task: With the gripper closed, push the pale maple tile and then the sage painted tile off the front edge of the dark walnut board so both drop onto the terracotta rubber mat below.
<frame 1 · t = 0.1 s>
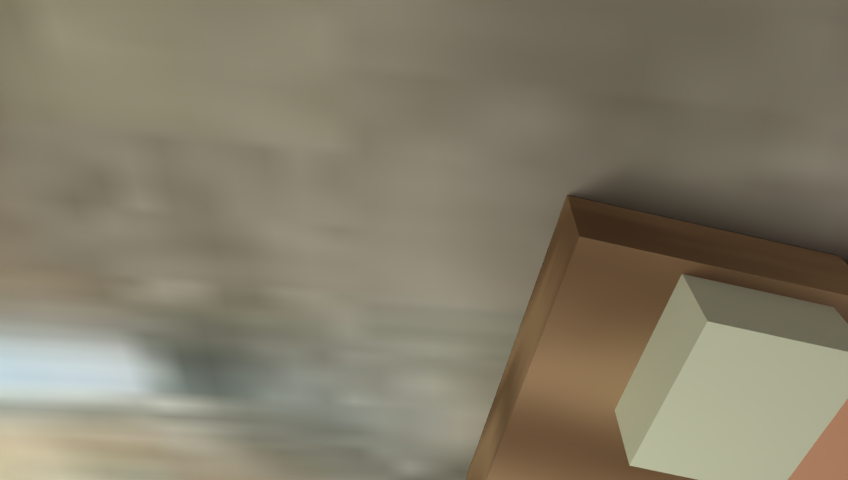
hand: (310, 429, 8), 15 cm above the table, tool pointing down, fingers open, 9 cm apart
walnut board: (614, 408, 26), on the table
sage tile: (716, 362, 21), point 3 cm above the table, touching walnut board
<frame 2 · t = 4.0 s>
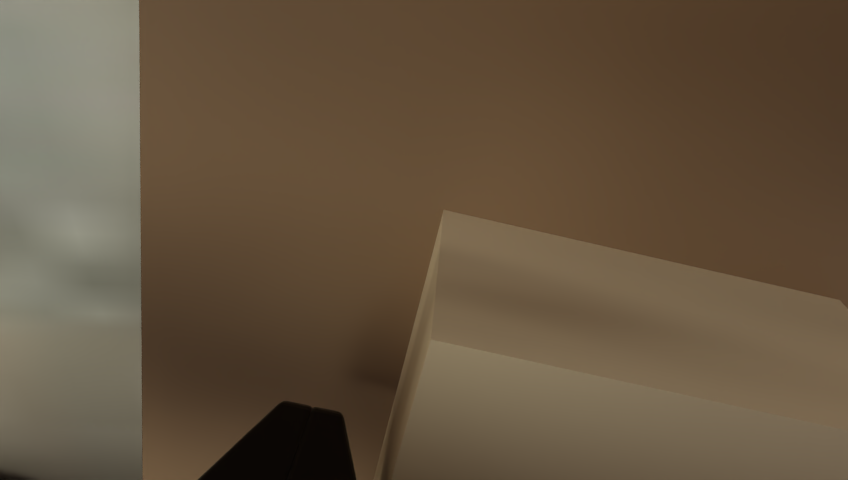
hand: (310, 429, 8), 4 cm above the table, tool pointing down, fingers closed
maple tile: (564, 429, 9), point 3 cm above the table, touching gripper, walnut board
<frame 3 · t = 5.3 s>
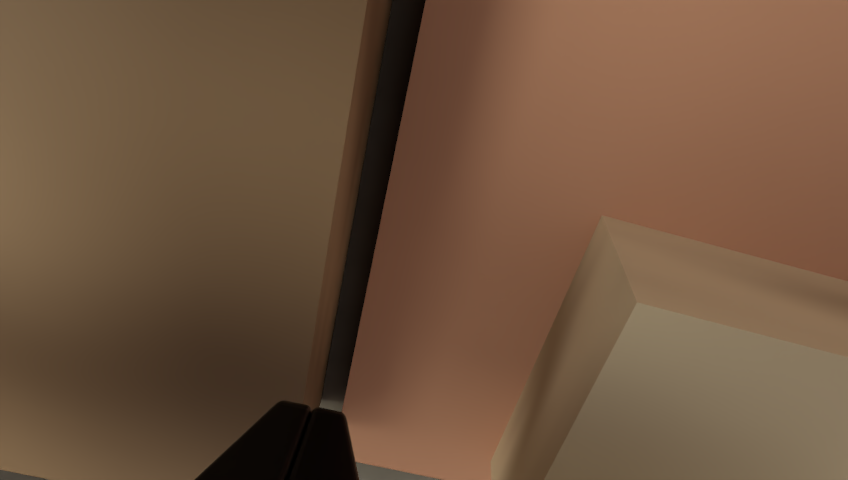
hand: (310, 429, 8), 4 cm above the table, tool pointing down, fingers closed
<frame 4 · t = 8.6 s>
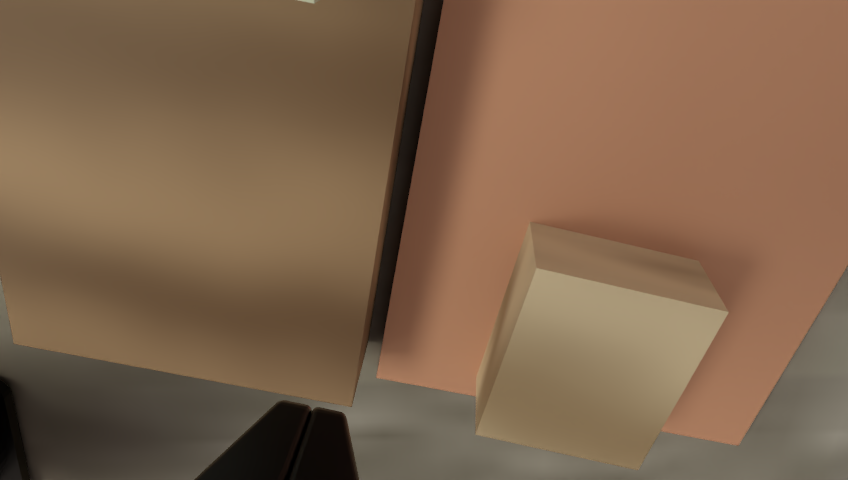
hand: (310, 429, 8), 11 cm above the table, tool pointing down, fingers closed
walnut board: (224, 43, 16), on the table
terracotta mat: (660, 128, 17), on the table
maple tile: (591, 378, 17), point 3 cm above the table, tilted 180°, touching terracotta mat
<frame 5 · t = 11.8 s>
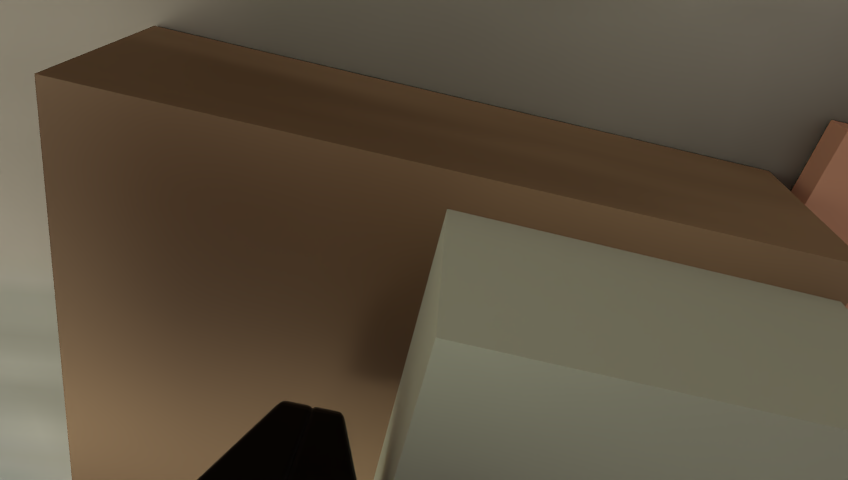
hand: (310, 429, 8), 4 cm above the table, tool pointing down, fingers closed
walnut board: (370, 477, 14), on the table
sage tile: (565, 428, 9), point 3 cm above the table, touching gripper, walnut board
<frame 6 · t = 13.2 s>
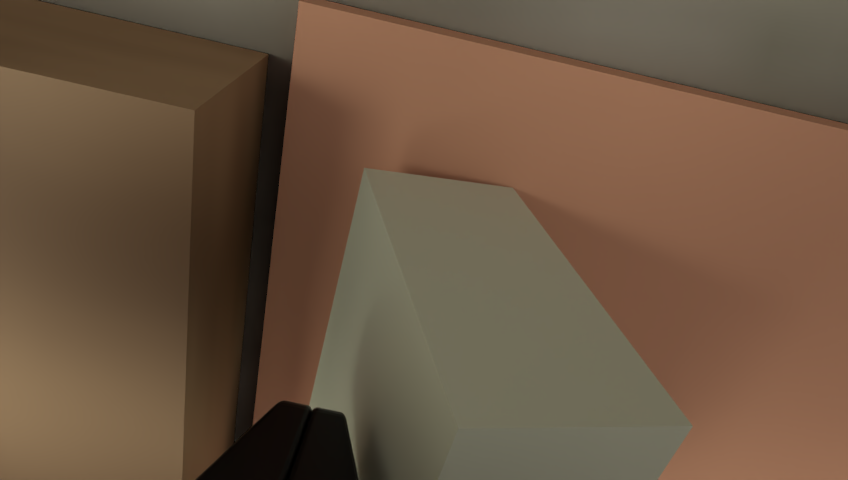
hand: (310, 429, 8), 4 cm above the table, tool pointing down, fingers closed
walnut board: (13, 400, 14), on the table
sage tile: (348, 438, 9), point 4 cm above the table, tilted 108°, touching terracotta mat
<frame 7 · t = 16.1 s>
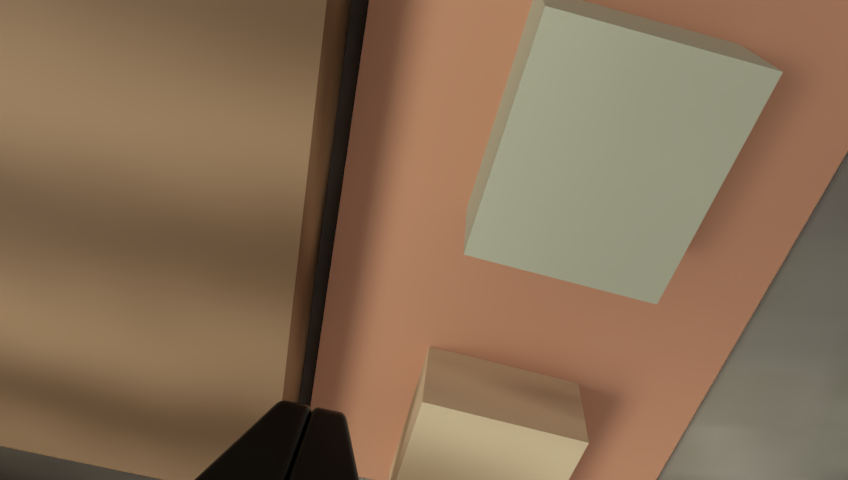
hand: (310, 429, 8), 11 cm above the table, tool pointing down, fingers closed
walnut board: (158, 192, 19), on the table
sage tile: (607, 172, 14), point 3 cm above the table, tilted 180°, touching terracotta mat
terracotta mat: (539, 275, 19), on the table
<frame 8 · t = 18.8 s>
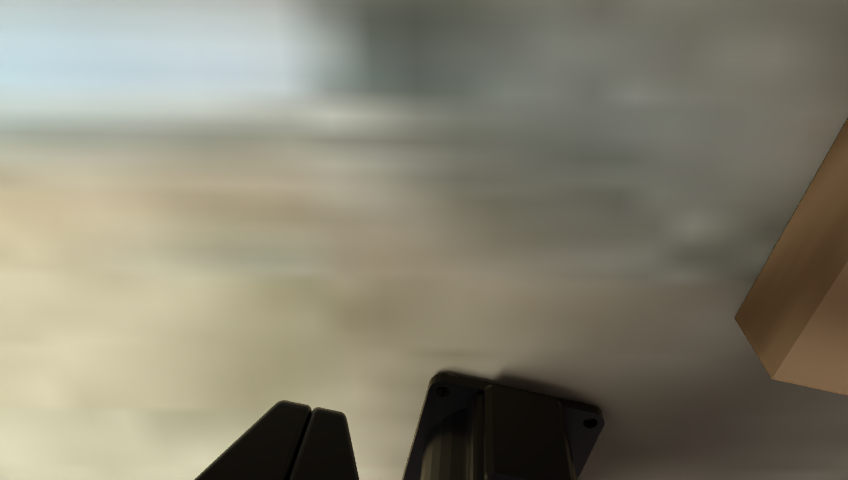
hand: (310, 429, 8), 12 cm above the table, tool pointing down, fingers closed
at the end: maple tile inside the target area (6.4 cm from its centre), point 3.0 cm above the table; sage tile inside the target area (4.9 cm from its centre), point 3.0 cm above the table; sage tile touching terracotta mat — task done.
